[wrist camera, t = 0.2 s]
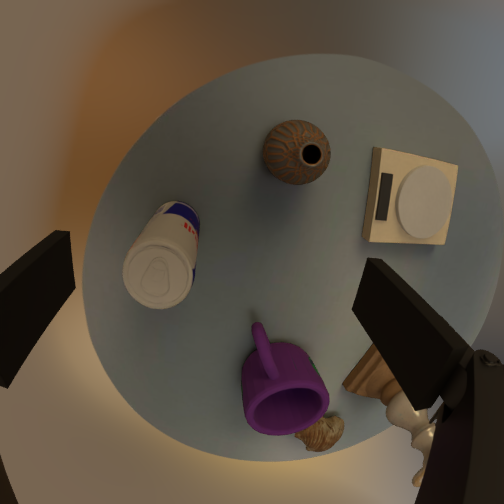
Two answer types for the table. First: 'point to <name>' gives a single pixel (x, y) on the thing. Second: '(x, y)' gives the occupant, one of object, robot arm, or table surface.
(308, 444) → the seashell
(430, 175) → the kitchen scale
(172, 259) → the beverage can
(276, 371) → the mug
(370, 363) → the candle holder
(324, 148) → the vase
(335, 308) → the table surface
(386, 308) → the robot arm
